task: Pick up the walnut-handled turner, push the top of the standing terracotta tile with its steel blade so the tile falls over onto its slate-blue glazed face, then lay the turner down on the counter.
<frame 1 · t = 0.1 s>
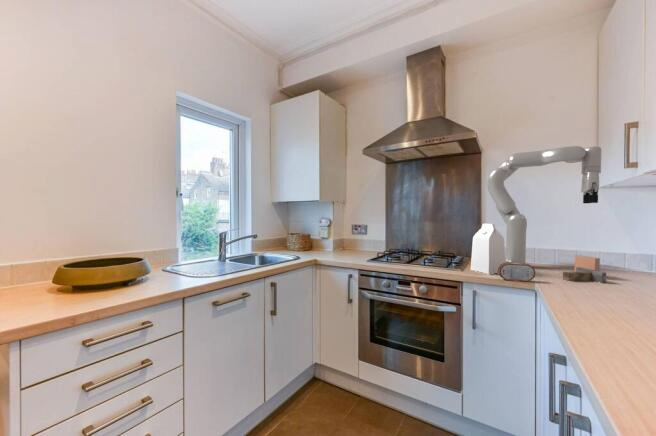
hand: (590, 203, 150), 37 cm above the countertop, tool pointing down, fingers open, 9 cm apart
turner: (577, 280, 134), on the countertop
tile: (586, 276, 142), on the countertop
milk: (487, 271, 153), on the countertop
tin: (516, 281, 133), on the countertop
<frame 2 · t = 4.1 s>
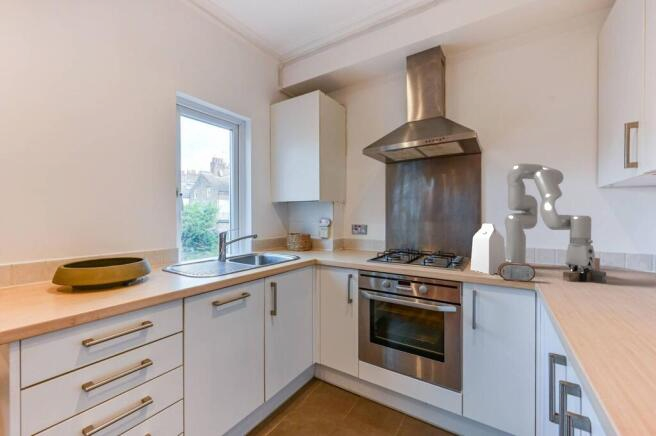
hand: (579, 279, 134), 0 cm above the countertop, tool pointing down, fingers closed on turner, 3 cm apart
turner: (577, 280, 134), on the countertop, touching gripper
everything else where it was.
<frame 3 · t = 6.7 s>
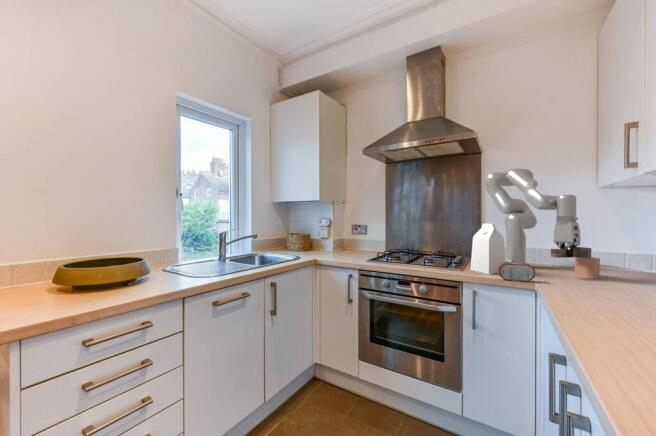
hand: (566, 256, 140), 10 cm above the countertop, tool pointing down, fingers closed on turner, 3 cm apart
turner: (564, 257, 140), point 10 cm above the countertop, touching gripper
everything else where it was.
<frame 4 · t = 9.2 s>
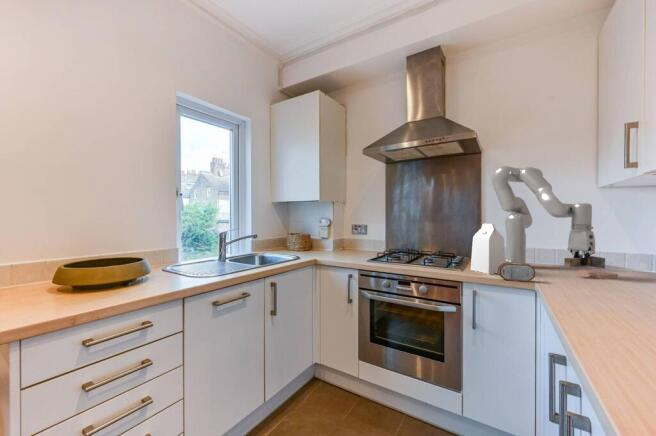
hand: (580, 264, 142), 6 cm above the countertop, tool pointing down, fingers closed on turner, 3 cm apart
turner: (577, 266, 142), point 5 cm above the countertop, touching gripper
tile: (589, 274, 142), point 1 cm above the countertop, tilted 90°
everything else where it was.
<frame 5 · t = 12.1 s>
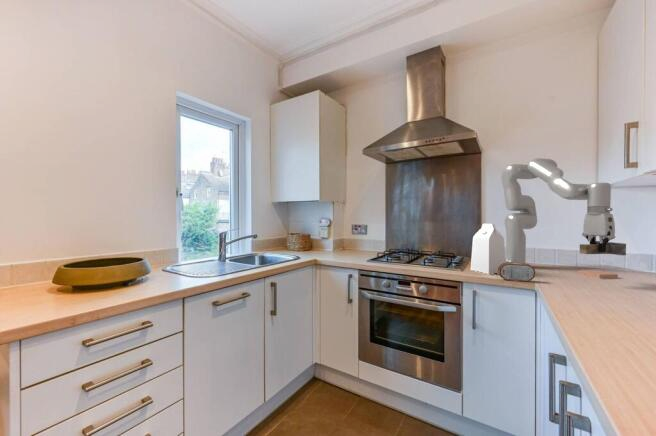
hand: (597, 251, 127), 15 cm above the countertop, tool pointing down, fingers closed on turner, 3 cm apart
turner: (594, 253, 127), point 14 cm above the countertop, touching gripper
everything else where it was.
when the fingers open (2 cm above the countertop, at t = 14.7 s): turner stays where it is, on the countertop.
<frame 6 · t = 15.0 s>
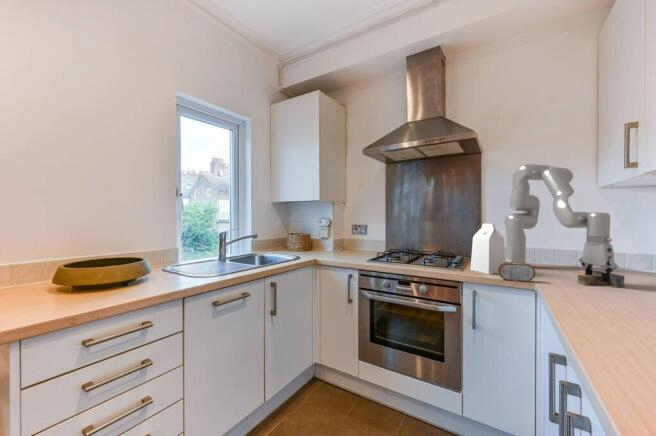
hand: (596, 279, 127), 2 cm above the countertop, tool pointing down, fingers open, 6 cm apart
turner: (593, 284, 127), on the countertop
everything else where it was.
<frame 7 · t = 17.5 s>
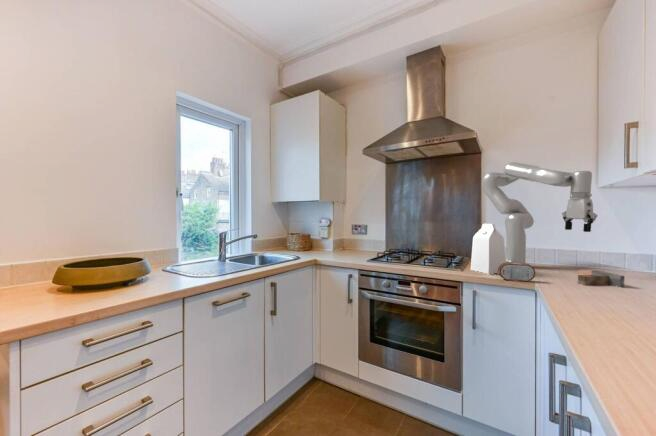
hand: (577, 230, 141), 23 cm above the countertop, tool pointing down, fingers open, 9 cm apart
nothing on the countertop moved.
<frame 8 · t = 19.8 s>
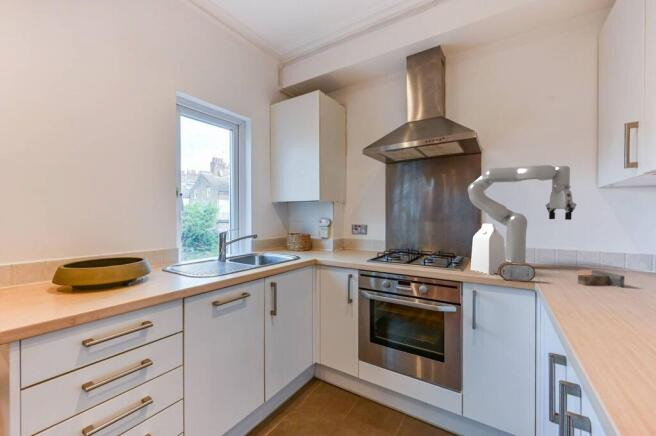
hand: (559, 219, 158), 28 cm above the countertop, tool pointing down, fingers open, 9 cm apart
nothing on the countertop moved.
at the end: tile tilted 90°; tile inside the target area (2.2 cm from its centre), point 0.7 cm above the countertop; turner inside the target area (0.6 cm from its centre), on the countertop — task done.
